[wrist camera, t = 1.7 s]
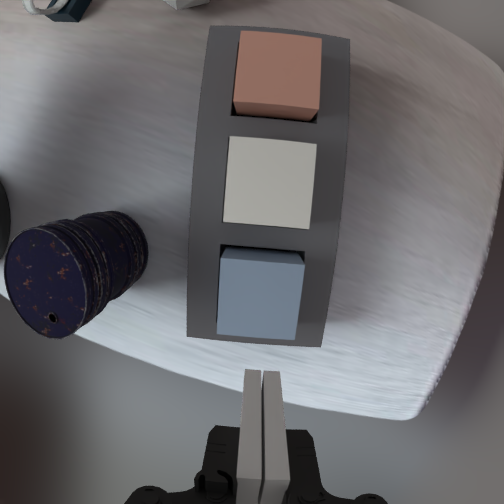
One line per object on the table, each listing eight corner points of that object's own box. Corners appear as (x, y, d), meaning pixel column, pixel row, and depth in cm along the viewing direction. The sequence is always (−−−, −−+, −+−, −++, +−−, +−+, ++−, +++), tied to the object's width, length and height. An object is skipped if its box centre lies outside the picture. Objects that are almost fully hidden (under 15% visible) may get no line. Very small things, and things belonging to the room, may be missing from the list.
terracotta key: (237, 114, 28) (233, 101, 23) (243, 52, 27) (240, 30, 22) (309, 121, 28) (318, 109, 23) (312, 58, 27) (321, 38, 22)
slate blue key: (222, 312, 32) (216, 333, 28) (226, 246, 31) (220, 257, 26) (289, 318, 32) (294, 340, 27) (297, 252, 31) (304, 265, 26)
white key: (228, 216, 30) (223, 221, 25) (234, 144, 29) (229, 136, 24) (300, 222, 30) (309, 229, 25) (307, 150, 29) (316, 144, 24)
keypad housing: (196, 314, 37) (186, 336, 31) (217, 48, 31) (210, 25, 25) (312, 323, 37) (320, 347, 31) (336, 59, 31) (349, 39, 25)
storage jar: (71, 222, 35) (-9, 243, 21) (135, 199, 35) (64, 210, 20) (94, 295, 37) (27, 345, 23) (159, 279, 37) (105, 333, 22)
